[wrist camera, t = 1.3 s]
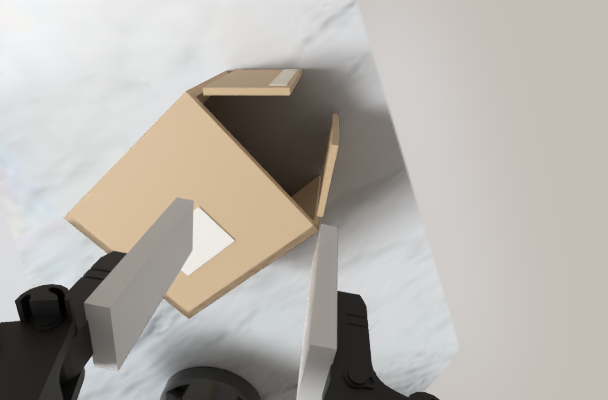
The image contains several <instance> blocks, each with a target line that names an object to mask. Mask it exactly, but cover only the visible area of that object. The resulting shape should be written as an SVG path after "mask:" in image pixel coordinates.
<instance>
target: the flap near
mask: <svg viewBox="0 0 608 400" xmlns="http://www.w3.org/2000/svg"><path fill="white" fill-rule="evenodd" d="M301 76H302V69H236V70H234V71H232V72H230V73H229V74H227V75H225V76H223V77H221V78H219V79H218V80H216V81H214V82H212V83H210V84H208V85H207V86H205V87H203V95H291V93H292V91H293V89H294V88H295V86H296V84H297V83H298V81H299V79H300V78H301Z"/></svg>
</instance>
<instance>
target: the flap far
mask: <svg viewBox="0 0 608 400" xmlns="http://www.w3.org/2000/svg"><path fill="white" fill-rule="evenodd" d="M338 148H339V114H334V113H333V117H332V122H331V127H330V132H329V137H328V142H327V147H326V152H325V158H324V163H323V168H322V173H321V182H320V191H319V200H318V209H317V216H319V217H323V215H324V210H325V205H326V201H327V196H328V191H329V187H330V182H331V177H332V173H333V168H334V164H335V162H336V158H337V153H338Z"/></svg>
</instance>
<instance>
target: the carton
mask: <svg viewBox="0 0 608 400" xmlns="http://www.w3.org/2000/svg"><path fill="white" fill-rule="evenodd" d="M227 74H229V73H228V72H227V71H225V72H223V73H221V74H219V75H217V76H215V77H213V78H211V79H209V80H207V81H205V82H203V83H201V84H199V85H197V86H195V87H193V88H191V89H190V90H188V91H186V92H185V93H184V94H183V95H182V96H181V97H180V98H179V99H178V100H177V101H176V102H175V103H174V104H173V105H172V106H171V107H170V108H169V109H168V110H167V111H166V112H165V113H164V115H163V116H162V117H161V118H160V119H159V120H158V121H157V122H156V123H155V124H154V125H153V126H152V127H151V128H150V129H149V130H148V131H147V132H146V133H145V134H144V135H143V136H142V137H141V138H140V139H139V140H138V141H137V142H136V143H135V145H134V146H133V147H132V148H131V149H130V150H129V151H128V152H127V153H126V154H125V155H124V156H123V157H122V158H121V159H120V160H119V161H118V162H117V163H116V164H115V165H114V166H113V167H112V168H111V169H110V170H109V171H108V172H107V173H106V174H105V176H104V177H103V178H102V179H101V180H100V181H99V182H98V183H97V184H96V185H95V186H94V187H93V188H92V189H91V190H90V191H89V192H88V193H87V194H86V195H85V196H84V197H83V198H82V199H81V200H80V201H79V202H78V203H77V204H76V205H75V207H74V208H73V209H72V210H71V211H70V212H69V213H68V214H67V215H66V216H65V217H64V219H66V220H67V221H68V222H69V223H70V224H72V225H73V226H74V227H75V228H77V229H78V230H79V231H80V232H82V233H83V234H84V235H85V236H87V237H88V238H89V239H90V240H92V241H93V242H94V243H95V244H97V245H98V246H99V247H100V248H101V249H103V250H104V251H105V252H106V253H108V254H109V253H111V252H112V251H118V252H123V253H128V252H129V251H130V250H131V249H132V247H133V246H134V245H135V244H136V243H137V242H138V241H139V239H140V238H141V237H142V236H143V235H144V234H145V233H146V232H147V230H148V229H149V228H150V227H151V226H152V225H153V224H154V222H155V221H156V220H157V219H158V218H159V217H160V216H161V215H162V213H163V212H164V211H165V210H166V209H167V208H168V207H169V205H170V204H171V203H172V202H173V201H174V200H175V199H176V198H183V199H188V200H194V202H193V251H192V252H191V254H190V255H189V257H188V259H187V260H186V262H185V264H184V265H183V267H182V268H181V270H180V272H179V273H178V275H177V277H176V278H175V280H174V281H173V283H172V285H171V286H170V288H169V289H168V291H167V293H166V294H165V296H164V299H165V300H166V301H167V302H169V303H170V304H171V305H172V306H173V307H175V308H176V309H177V310H178V311H180V312H181V313H182V314H183V315H185V316H186V317H187V318H188V319H189V318H191V317H192V316H194V315H195V314H197V313H198V312H200V311H201V310H203V309H204V308H206V307H207V306H209V305H210V304H212V303H213V302H214V301H216V300H217V299H219V298H220V297H222V296H223V295H225V294H226V293H228V292H229V291H231V290H232V289H234V288H235V287H237V286H238V285H240V284H241V283H242V282H244V281H245V280H247V279H248V278H250V277H251V276H253V275H254V274H256V273H257V272H259V271H260V270H262V269H263V268H265V267H266V266H268V265H269V264H270V263H272V262H273V261H275V260H276V259H278V258H279V257H281V256H282V255H284V254H285V253H287V252H288V251H290V250H291V249H293V248H294V247H295V246H297V245H298V244H300V243H301V242H303V241H304V240H306V239H307V238H309V237H310V236H312V235H313V234H315V233H316V232H318V231H319V221H320V217H319V216H317V209H318V200H319V191H320V182H321V176H320V175H319V176H318V177H317V178H315V179H314V180H313V181H311V182H310V183H309V184H307V185H306V186H305V187H303V188H302V189H301V190H299V191H298V192H297V193H295V194H294V195H293V196H291V197H290V196H289V195H288V194H287V193H286V192H285V190H284V189H283V188H282V187H281V186H280V185H279V184H278V183H277V182H276V181H275V180H274V179H273V178H272V177H271V176H270V175H269V174H268V173H267V171H266V170H265V169H264V168H263V167H262V166H261V165H260V164H259V163H258V162H257V161H256V160H255V159H254V158H253V157H252V156H251V155H250V153H249V152H248V151H247V150H246V149H245V148H244V147H243V146H242V145H241V144H240V143H239V142H238V141H237V140H236V139H235V138H234V137H233V136H232V134H231V133H230V132H229V131H228V130H227V129H226V128H225V127H224V126H223V125H222V124H221V123H220V122H219V121H218V120H217V119H216V118H215V116H214V115H213V114H212V113H211V112H210V111H209V110H208V109H207V108H206V107H205V106H204V105H203V103H204V102H205V101H206V100H207V99H208V98H209V97H210V96H211V95H203V87H205V86H207V85H208V84H210V83H212V82H214V81H216V80H218V79H219V78H221V77H223V76H225V75H227Z"/></svg>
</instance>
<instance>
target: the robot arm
mask: <svg viewBox="0 0 608 400" xmlns="http://www.w3.org/2000/svg"><path fill="white" fill-rule="evenodd" d="M193 202H194V200H188V199H183V198H176V199H175V200H174V201H173V202H172V203H171V204H170V205H169V207H168V208H167V209H166V210H165V211H164V212H163V213H162V215H161V216H160V217H159V218H158V219H157V220H156V221H155V222H154V224H153V225H152V226H151V227H150V228H149V229H148V230H147V232H146V233H145V234H144V235H143V236H142V237H141V238H140V239H139V241H138V242H137V243H136V244H135V245H134V246H133V247H132V249H131V250H130V251H129V252H128V253H123V252H118V251H112V252H111V253H109V254H107V255H105V256H103V257H101V258H100V259H99V260H98V261H97V262H96V263H95V264H94V265H93V266H92V267H91V269H89V270H88V271H87V272H86V273H85V274H84V276H83V277H81V278H80V279H79V280H78V281H77V282H76V283H75V285H74V286H73V287H72V288H71V289H70V290H68V289H67V288H66V287H64V286H62V285H55V284H49V285H41V286H38V287H35V288H32V289H30V290H28V291H26V292H25V293H23V294H21V295H20V296H19V297H18V298H17V299H16V300H15V303H16V306H17V310H18V314H19V317H20V321H14V322H1V323H0V400H77V398H78V395H79V392H80V389H81V387H82V384H83V381H84V377H85V369H84V366H85V365H86V363H87V362H88V360H89V359H90V358H91V356H93V362H94V367H97V368H103V369H108V370H113V371H118V370H119V369H120V367H121V366H122V364H123V362H124V361H125V359H126V358H127V356H128V354H129V353H130V351H131V349H132V348H133V346H134V345H135V343H136V341H137V340H138V338H139V336H140V335H141V333H142V332H143V330H144V328H145V327H146V325H147V324H148V322H149V320H150V319H151V317H152V315H153V314H154V312H155V311H156V309H157V307H158V306H159V304H160V302H161V301H162V299H163V298H164V296H165V294H166V293H167V291H168V289H169V288H170V286H171V285H172V283H173V281H174V280H175V278H176V277H177V275H178V273H179V272H180V270H181V268H182V267H183V265H184V264H185V262H186V260H187V259H188V257H189V255H190V254H191V252H192V251H193ZM337 258H338V227H336V226H330V225H325V224H321V225H320V230H319V234H318V239H317V244H316V248H315V253H314V258H313V263H312V267H311V272H310V281H309V290H308V299H307V308H306V317H305V326H304V335H303V344H302V353H301V362H300V371H299V380H298V389H297V398H296V400H439V399H438V398H436V397H435V396H433V395H431V394H428V393H426V392H416V393H413V394H411V395H410V396H409V397H406V396H404V395H402V394H400V393H398V392H396V391H394V390H392V389H391V388H389V387H388V386H386V385H385V384H384V383H383V382H381V381H380V379H379V378H378V377H377V375H376V373H375V371H374V370H373V367H372V362H371V351H370V341H369V330H368V320H367V308H366V305H365V303H364V301H363V299H362V298H361V296H360V295H357V294H351V293H346V292H341V291H337ZM160 400H260V397H259V395H258V393H257V392H256V391H255V389H254V388H253V387H252V386H251V385H250V384H249V383H247V382H246V381H245V380H243V379H242V378H240V377H238V376H236V375H234V374H232V373H229V372H226V371H223V370H220V369H215V368H206V367H197V368H189V369H185V370H182V371H180V372H178V373H176V374H175V375H173V376H172V377H171V378H170V379H169V380H168V382H167V384H166V386H165V388H164V390H163V392H162V395H161V397H160Z"/></svg>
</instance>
